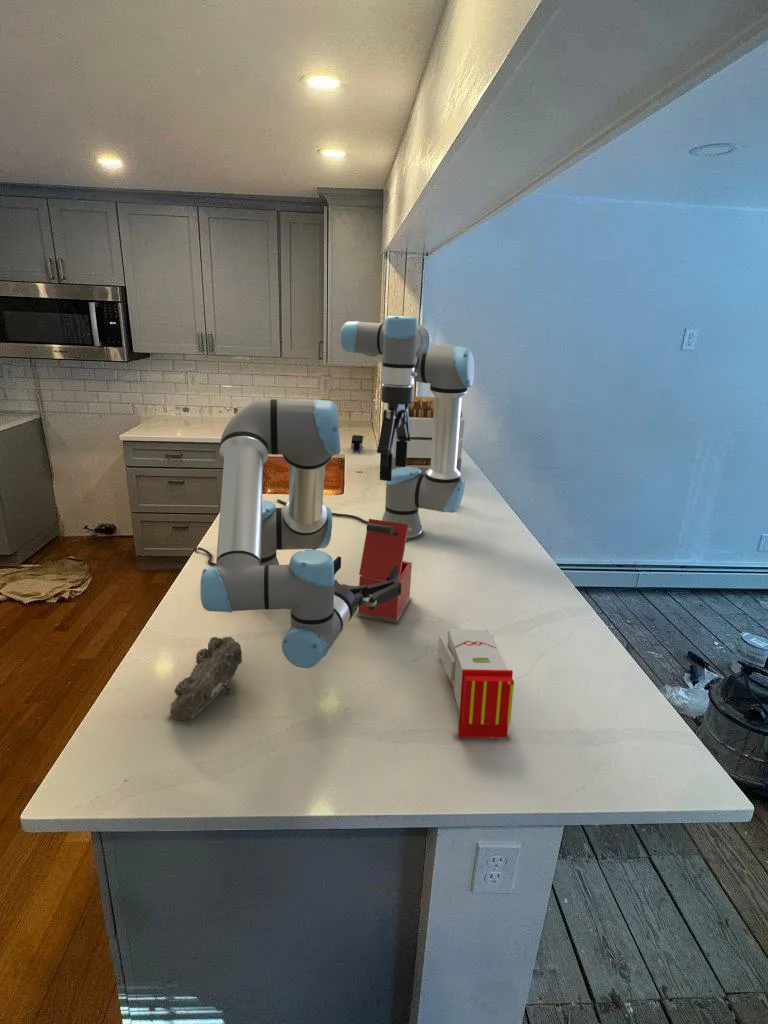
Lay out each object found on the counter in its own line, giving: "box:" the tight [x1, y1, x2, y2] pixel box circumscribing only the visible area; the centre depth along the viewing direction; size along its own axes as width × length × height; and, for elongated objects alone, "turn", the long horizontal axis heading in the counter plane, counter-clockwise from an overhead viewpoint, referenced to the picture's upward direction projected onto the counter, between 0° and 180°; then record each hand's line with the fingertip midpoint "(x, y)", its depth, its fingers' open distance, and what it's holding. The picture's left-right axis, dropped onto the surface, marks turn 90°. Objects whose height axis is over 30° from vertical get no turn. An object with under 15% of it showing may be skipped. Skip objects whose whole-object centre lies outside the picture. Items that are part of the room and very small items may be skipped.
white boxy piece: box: [385, 395, 465, 475], centre depth 268 cm, size 34×33×41 cm
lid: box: [358, 518, 409, 582], centre depth 138 cm, size 14×10×9 cm
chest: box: [357, 560, 413, 624], centre depth 149 cm, size 14×10×11 cm
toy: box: [437, 628, 515, 738], centre depth 117 cm, size 12×13×30 cm
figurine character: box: [350, 434, 364, 454], centre depth 311 cm, size 7×8×15 cm
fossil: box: [169, 636, 243, 721], centre depth 114 cm, size 22×10×15 cm
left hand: (367, 566), depth 129 cm, fingers open, 13 cm apart
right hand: (393, 473), depth 140 cm, fingers open, 13 cm apart
